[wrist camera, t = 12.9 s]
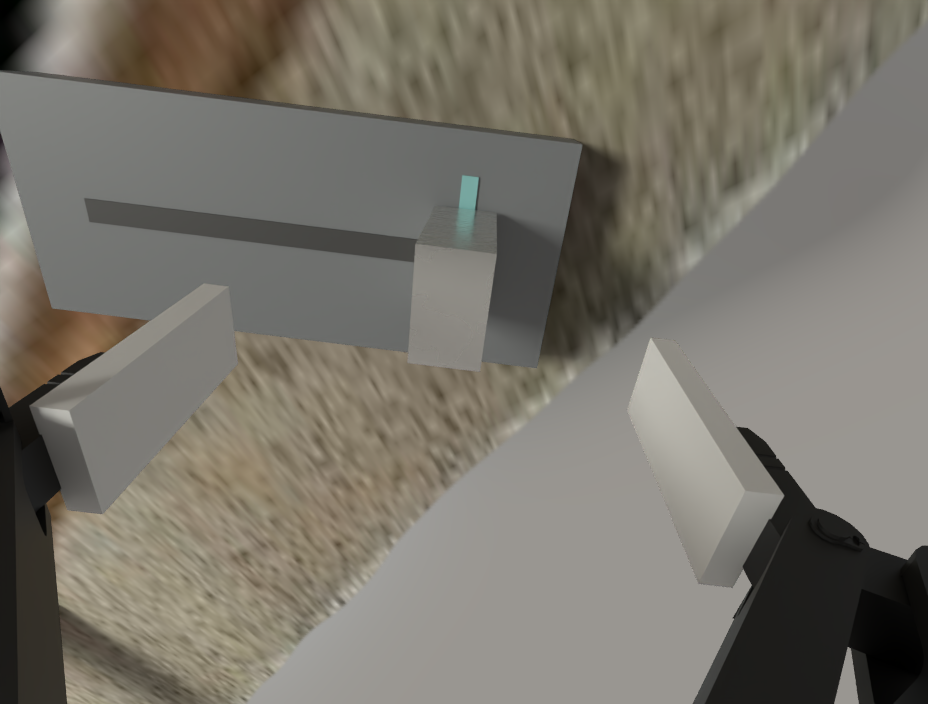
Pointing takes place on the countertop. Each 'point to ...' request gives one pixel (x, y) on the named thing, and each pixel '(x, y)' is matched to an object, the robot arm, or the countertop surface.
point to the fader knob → (452, 288)
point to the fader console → (274, 208)
